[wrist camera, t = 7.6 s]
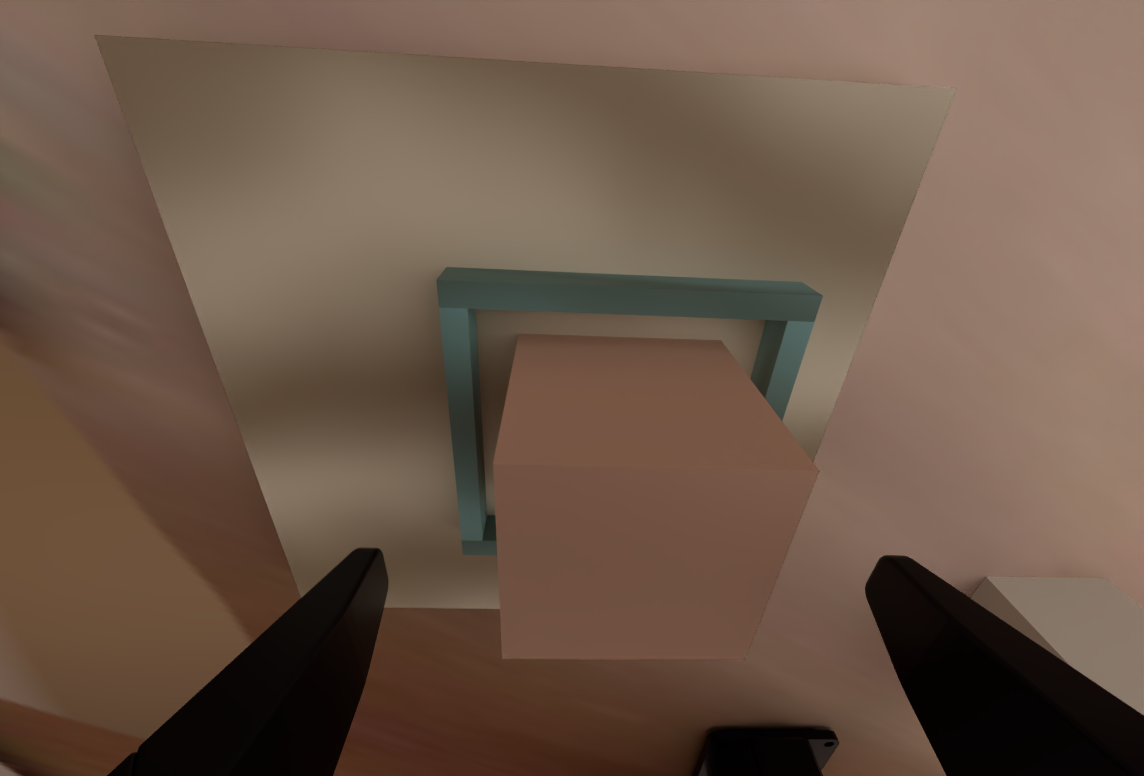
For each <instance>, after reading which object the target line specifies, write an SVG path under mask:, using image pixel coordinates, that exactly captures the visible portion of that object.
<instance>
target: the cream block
mask: <svg viewBox="0 0 1144 776" xmlns="http://www.w3.org/2000/svg"><path fill="white" fill-rule="evenodd" d="M971 599H972V600H974V601H975V602H977V603H978V604H980V605H981V606H983V607H984V608H985V609H987V610H988V611H990V612H991V613H993V614H994V615H996V616H997V617H999V618H1000V619H1002V620H1003V621H1005V622H1006V623H1008V624H1009V625H1011V626H1012V627H1014V628H1015V629H1017V630H1018V631H1020V632H1021V633H1023V634H1024V635H1025V636H1027V637H1028V638H1030V639H1031V640H1033V641H1034V642H1036V643H1037V644H1039V645H1040V646H1042V647H1043V648H1045V649H1046V650H1048V651H1049V652H1051V653H1052V654H1054V655H1055V656H1057V657H1058V658H1060V659H1061V660H1063V661H1064V662H1066V663H1067V664H1068V665H1070V666H1071V667H1073V668H1074V669H1076V670H1077V671H1079V672H1080V673H1082V674H1083V675H1085V676H1086V677H1088V678H1089V679H1091V680H1092V681H1094V682H1095V683H1097V684H1098V685H1100V686H1101V687H1103V688H1104V689H1106V690H1107V691H1108V692H1110V693H1111V694H1113V695H1114V696H1116V697H1117V698H1119V699H1120V700H1122V701H1123V702H1125V703H1126V704H1128V705H1129V706H1131V707H1132V708H1134V709H1135V710H1137V711H1138V712H1140V713H1141V714H1143V715H1144V608H1143V607H1141V606H1140V605H1139V604H1138V603H1137V602H1135V601H1134V600H1133V599H1132V598H1130V597H1129V596H1128V595H1127V594H1126V593H1124V592H1123V591H1122V590H1121V589H1120V588H1118V587H1117V586H1116V585H1115V584H1114V583H1112V582H1111V581H1110V580H1109V579H1108V578H1047V577H985V579H984V580H983V581H982V583H981V584H980V585H979V587H978V588H977V590H976V591H975V592H974V594H973V595H972V596H971Z"/></svg>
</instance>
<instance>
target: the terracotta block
mask: <svg viewBox="0 0 1144 776" xmlns="http://www.w3.org/2000/svg"><path fill="white" fill-rule="evenodd" d="M818 473H819V470H818V469H817V467H816V466H815V465H814V463H813V462H812V461H811V459H810V458H809V457H808V455H807V454H806V453H805V451H804V450H803V449H802V447H801V446H800V445H799V443H798V442H797V441H796V439H795V438H794V437H793V435H792V434H791V433H790V431H789V430H788V429H787V427H786V426H785V425H784V423H783V422H782V421H781V419H780V418H779V417H778V415H777V414H776V413H775V411H774V410H773V409H772V407H771V406H770V405H769V403H768V402H767V401H766V399H765V398H764V397H763V395H762V394H761V393H760V391H759V390H758V389H757V387H756V386H755V385H754V383H753V382H752V381H751V379H750V378H749V377H748V375H747V374H746V373H745V371H744V370H743V369H742V367H741V366H740V365H739V363H738V362H737V361H736V359H735V358H734V357H733V355H732V354H731V353H730V351H729V350H728V349H727V347H726V346H725V345H724V343H723V342H722V341H721V340H697V339H667V338H637V337H608V336H578V335H549V334H519V335H518V340H517V345H516V350H515V355H514V360H513V365H512V370H511V375H510V380H509V385H508V390H507V395H506V400H505V406H504V411H503V416H502V421H501V426H500V431H499V436H498V441H497V446H496V451H495V456H494V461H493V476H494V497H495V518H496V539H497V560H498V580H499V601H500V622H501V643H502V659H648V660H745V659H746V656H747V653H748V651H749V648H750V646H751V643H752V641H753V638H754V636H755V633H756V631H757V628H758V626H759V623H760V620H761V618H762V615H763V613H764V610H765V608H766V605H767V603H768V600H769V598H770V595H771V593H772V590H773V587H774V585H775V582H776V580H777V577H778V575H779V572H780V570H781V567H782V565H783V562H784V560H785V557H786V554H787V552H788V549H789V547H790V544H791V542H792V539H793V537H794V534H795V532H796V529H797V527H798V524H799V521H800V519H801V516H802V514H803V511H804V509H805V506H806V504H807V501H808V499H809V496H810V494H811V491H812V488H813V486H814V483H815V481H816V478H817V476H818Z"/></svg>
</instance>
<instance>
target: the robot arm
mask: <svg viewBox="0 0 1144 776" xmlns="http://www.w3.org/2000/svg"><path fill="white" fill-rule="evenodd" d="M388 586H389V579H388V574H387V569H386V565H385V560H384V556H383V552H382V550H381V549H380V548H369V547H360V548H356V549H355V550H353V551H352V552H351V553H350V554H348V555H347V556H346V557H345V558H344V559H343V560H342V561H341V562H340V563H339V564H338V565H336V566H335V567H334V568H333V569H332V570H331V571H330V572H329V573H328V574H327V575H326V576H324V577H323V578H322V579H321V580H320V581H319V582H318V583H317V584H316V585H315V586H314V587H312V588H311V589H310V590H309V591H308V592H307V593H306V594H305V595H304V596H303V597H302V598H300V599H299V600H298V601H297V602H296V603H295V604H294V605H293V606H292V607H291V608H290V609H288V610H287V611H286V612H285V613H284V614H283V615H282V616H281V617H280V618H279V619H278V620H276V621H275V622H274V623H273V624H272V625H271V626H270V627H269V628H268V629H267V630H266V631H264V632H263V633H262V634H261V635H260V636H259V637H258V638H257V639H256V640H255V641H254V642H252V643H251V644H250V645H249V646H248V647H247V648H246V649H245V650H244V651H243V652H242V653H241V654H240V655H238V656H237V657H236V658H235V659H234V660H233V661H232V662H231V663H230V664H229V665H227V666H226V667H225V668H224V669H223V670H222V671H221V672H220V673H219V674H218V675H217V676H215V677H214V678H213V679H212V680H211V681H210V682H209V683H208V684H207V685H206V686H205V687H203V689H201V690H200V691H199V692H198V693H197V694H196V695H195V696H194V697H193V698H191V699H190V700H189V701H188V702H187V703H186V704H185V705H184V706H183V707H182V708H181V709H179V710H178V711H177V712H176V713H175V714H174V715H173V716H172V717H171V718H170V719H169V720H167V721H166V722H165V723H164V724H163V725H162V726H161V727H160V728H159V729H158V730H157V731H155V732H154V733H153V734H152V735H151V736H150V737H149V738H148V739H147V740H146V741H145V742H143V743H142V744H141V745H140V746H139V748H138V751H137V752H134V753H131V754H130V755H129V756H128V757H127V758H126V759H125V760H124V761H122V762H121V763H120V764H119V765H118V766H117V767H116V768H115V769H114V770H113V771H112V772H110V773H109V774H108V775H107V776H333V774H334V771H335V769H336V766H337V763H338V760H339V757H340V754H341V752H342V749H343V746H344V743H345V740H346V737H347V735H348V732H349V729H350V726H351V723H352V720H353V718H354V715H355V712H356V709H357V706H358V703H359V701H360V698H361V695H362V692H363V688H364V685H365V682H366V678H367V674H368V671H369V667H370V663H371V659H372V654H373V650H374V646H375V642H376V638H377V634H378V630H379V626H380V622H381V618H382V613H383V609H384V605H385V601H386V597H387V593H388ZM865 593H866V597H867V600H868V603H869V606H870V608H871V611H872V613H873V616H874V618H875V621H876V623H877V626H878V628H879V631H880V633H881V636H882V638H883V641H884V643H885V646H886V648H887V651H888V653H889V656H890V658H891V661H892V664H893V666H894V669H895V671H896V673H897V676H898V678H899V680H900V683H901V685H902V687H903V689H904V691H905V693H906V696H907V698H908V700H909V702H910V704H911V706H912V708H913V710H914V712H915V714H916V716H917V718H918V720H919V722H920V724H921V726H922V728H923V730H924V732H925V734H926V736H927V738H928V740H929V742H930V744H931V746H932V748H933V750H934V752H935V754H936V756H937V758H938V760H939V762H940V763H941V765H942V767H943V769H944V771H945V773H946V775H947V776H1144V715H1143V714H1141V713H1140V712H1138V711H1137V710H1135V709H1134V708H1132V707H1131V706H1129V705H1128V704H1126V703H1125V702H1123V701H1122V700H1120V699H1119V698H1117V697H1116V696H1114V695H1113V694H1111V693H1110V692H1108V691H1107V690H1106V689H1104V688H1103V687H1101V686H1100V685H1098V684H1097V683H1095V682H1094V681H1092V680H1091V679H1089V678H1088V677H1086V676H1085V675H1083V674H1082V673H1080V672H1079V671H1077V670H1076V669H1074V668H1073V667H1071V666H1070V665H1068V664H1067V663H1066V662H1064V661H1063V660H1061V659H1060V658H1058V657H1057V656H1055V655H1054V654H1052V653H1051V652H1049V651H1048V650H1046V649H1045V648H1043V647H1042V646H1040V645H1039V644H1037V643H1036V642H1034V641H1033V640H1031V639H1030V638H1028V637H1027V636H1025V635H1024V634H1023V633H1021V632H1020V631H1018V630H1017V629H1015V628H1014V627H1012V626H1011V625H1009V624H1008V623H1006V622H1005V621H1003V620H1002V619H1000V618H999V617H997V616H996V615H994V614H993V613H991V612H990V611H988V610H987V609H985V608H984V607H983V606H981V605H980V604H978V603H977V602H975V601H974V600H972V599H971V598H969V597H968V596H966V595H965V594H963V593H962V592H960V591H959V590H957V589H956V588H954V587H953V586H951V585H950V584H948V583H947V582H945V581H944V580H942V579H941V578H940V577H938V576H937V575H935V574H934V573H932V572H931V571H929V570H928V569H926V568H925V567H923V566H922V565H920V564H919V563H917V562H916V561H914V560H913V559H911V558H909V557H907V556H897V555H886V556H883V557H881V558H880V559H879V560H878V562H877V564H876V566H875V568H874V570H873V571H872V573H871V575H870V577H869V579H868V581H867V583H866V586H865ZM838 745H839V741H838V739H837V736H836V734H835V732H834V731H830V730H719V731H714V732H712V733H710V734H709V735H708V738H707V740H706V743H705V746H704V748H703V751H702V753H701V756H700V759H699V761H698V764H697V766H696V769H695V772H694V774H693V776H823V774H822V772H821V770H822V768H823V767H824V766H825V764H826V763H827V761H828V760H829V758H830V757H831V755H832V754H833V752H834V751H835V749H836V748H837V746H838Z"/></svg>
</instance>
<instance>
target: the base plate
mask: <svg viewBox="0 0 1144 776" xmlns="http://www.w3.org/2000/svg"><path fill="white" fill-rule="evenodd" d="M94 36H95V38H96V41H97V44H98V47H99V49H100V52H101V55H102V57H103V60H104V63H105V66H106V68H107V71H108V74H109V76H110V79H111V82H112V85H113V87H114V90H115V93H116V95H117V98H118V101H119V104H120V106H121V109H122V112H123V115H124V117H125V120H126V123H127V125H128V128H129V131H130V134H131V136H132V139H133V142H134V144H135V147H136V150H137V153H138V155H139V158H140V161H141V164H142V166H143V169H144V172H145V174H146V177H147V180H148V183H149V185H150V188H151V191H152V193H153V196H154V199H155V202H156V204H157V207H158V210H159V212H160V215H161V218H162V221H163V223H164V226H165V229H166V232H167V234H168V237H169V240H170V242H171V245H172V248H173V251H174V253H175V256H176V259H177V261H178V264H179V267H180V270H181V272H182V275H183V278H184V280H185V283H186V286H187V289H188V291H189V294H190V297H191V300H192V302H193V305H194V308H195V310H196V313H197V316H198V319H199V321H200V324H201V327H202V329H203V332H204V335H205V338H206V340H207V343H208V346H209V348H210V351H211V354H212V357H213V359H214V362H215V365H216V368H217V370H218V373H219V376H220V378H221V381H222V384H223V387H224V389H225V392H226V395H227V397H228V400H229V403H230V406H231V408H232V411H233V414H234V416H235V419H236V422H237V425H238V427H239V430H240V433H241V436H242V438H243V441H244V444H245V446H246V449H247V452H248V455H249V457H250V460H251V463H252V465H253V468H254V471H255V474H256V476H257V479H258V482H259V484H260V487H261V490H262V493H263V495H264V498H265V501H266V504H267V506H268V509H269V512H270V514H271V517H272V520H273V523H274V525H275V528H276V531H277V533H278V536H279V539H280V542H281V544H282V547H283V550H284V552H285V555H286V558H287V561H288V563H289V566H290V569H291V572H292V574H293V577H294V580H295V582H296V585H297V588H298V591H299V593H300V596H301V598H302V597H303V596H304V595H305V594H306V593H307V592H308V591H309V590H310V589H311V588H312V587H314V586H315V585H316V584H317V583H318V582H319V581H320V580H321V579H322V578H323V577H324V576H326V575H327V574H328V573H329V572H330V571H331V570H332V569H333V568H334V567H335V566H336V565H338V564H339V563H340V562H341V561H342V560H343V559H344V558H345V557H346V556H347V555H348V554H350V553H351V552H352V551H353V550H355V549H356V548H360V547H369V548H380V549H381V550H382V552H383V556H384V560H385V565H386V569H387V574H388V579H389V586H388V593H387V597H386V601H385V605H384V608H470V609H500V601H499V580H498V560H497V539H496V518H495V497H494V476H493V461H494V456H495V451H496V446H497V441H498V436H499V431H500V426H501V421H502V416H503V411H504V406H505V400H506V395H507V390H508V385H509V380H510V375H511V370H512V365H513V360H514V355H515V350H516V345H517V340H518V335H519V334H549V335H578V336H608V337H637V338H667V339H697V340H721V341H722V342H723V343H724V345H725V346H726V347H727V349H728V350H729V351H730V353H731V354H732V355H733V357H734V358H735V359H736V361H737V362H738V363H739V365H740V366H741V367H742V369H743V370H744V371H745V373H746V374H747V375H748V377H749V378H750V379H751V381H752V382H753V383H754V385H755V386H756V387H757V389H758V390H759V391H760V393H761V394H762V395H763V397H764V398H765V399H766V401H767V402H768V403H769V405H770V406H771V407H772V409H773V410H774V411H775V413H776V414H777V415H778V417H779V418H780V419H781V421H782V422H783V423H784V425H785V426H786V427H787V429H788V430H789V431H790V433H791V434H792V435H793V437H794V438H795V439H796V441H797V442H798V443H799V445H800V446H801V447H802V449H803V450H804V451H805V453H806V454H807V455H808V457H809V458H810V459H811V461H812V462H813V461H814V458H815V456H816V453H817V451H818V448H819V445H820V443H821V440H822V438H823V435H824V432H825V430H826V427H827V424H828V422H829V419H830V417H831V414H832V411H833V409H834V406H835V404H836V401H837V398H838V396H839V393H840V391H841V388H842V385H843V383H844V380H845V378H846V375H847V372H848V370H849V367H850V365H851V362H852V359H853V357H854V354H855V352H856V349H857V346H858V344H859V341H860V339H861V336H862V333H863V331H864V328H865V326H866V323H867V320H868V318H869V315H870V313H871V310H872V307H873V305H874V302H875V300H876V297H877V294H878V292H879V289H880V287H881V284H882V281H883V279H884V276H885V274H886V271H887V268H888V266H889V263H890V261H891V258H892V255H893V253H894V250H895V248H896V245H897V242H898V240H899V237H900V235H901V232H902V229H903V227H904V224H905V222H906V219H907V216H908V214H909V211H910V208H911V206H912V203H913V201H914V198H915V195H916V193H917V190H918V188H919V185H920V182H921V180H922V177H923V175H924V172H925V169H926V167H927V164H928V162H929V159H930V156H931V154H932V151H933V149H934V146H935V143H936V141H937V138H938V136H939V133H940V130H941V128H942V125H943V123H944V120H945V117H946V115H947V112H948V110H949V107H950V104H951V102H952V99H953V97H954V94H955V91H956V89H957V88H944V87H928V86H912V85H896V84H880V83H864V82H848V81H831V80H815V79H799V78H783V77H767V76H751V75H735V74H718V73H702V72H686V71H670V70H654V69H638V68H622V67H605V66H589V65H573V64H557V63H541V62H525V61H509V60H492V59H476V58H460V57H444V56H428V55H412V54H395V53H379V52H363V51H347V50H331V49H315V48H299V47H282V46H266V45H250V44H234V43H218V42H202V41H186V40H169V39H153V38H137V37H121V36H105V35H94Z"/></svg>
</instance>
